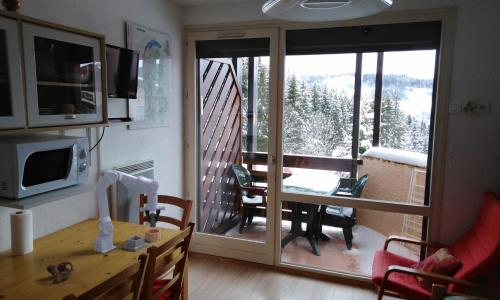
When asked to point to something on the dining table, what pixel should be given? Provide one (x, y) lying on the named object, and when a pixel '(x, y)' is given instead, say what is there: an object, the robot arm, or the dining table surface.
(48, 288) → the dining table surface
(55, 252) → the dining table surface
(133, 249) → the checker housing
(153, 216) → the battery cell
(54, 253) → the dining table surface
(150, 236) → the cup
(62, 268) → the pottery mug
